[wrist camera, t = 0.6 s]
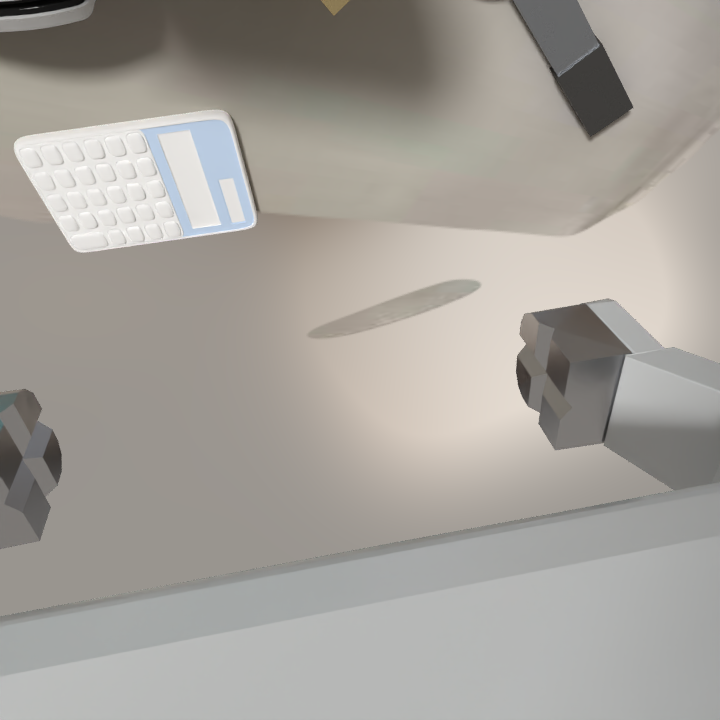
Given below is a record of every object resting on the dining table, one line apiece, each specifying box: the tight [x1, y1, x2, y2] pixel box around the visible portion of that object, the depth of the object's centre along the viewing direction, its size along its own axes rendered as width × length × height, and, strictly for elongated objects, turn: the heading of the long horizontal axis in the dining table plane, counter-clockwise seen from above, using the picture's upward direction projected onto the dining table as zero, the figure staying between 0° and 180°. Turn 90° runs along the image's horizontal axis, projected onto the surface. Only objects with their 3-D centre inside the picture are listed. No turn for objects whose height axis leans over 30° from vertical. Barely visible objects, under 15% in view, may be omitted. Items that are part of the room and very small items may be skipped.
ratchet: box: [513, 0, 633, 137], centre depth 49 cm, size 26×9×5 cm, turn 40°
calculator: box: [14, 110, 258, 253], centre depth 59 cm, size 13×20×2 cm, turn 95°
